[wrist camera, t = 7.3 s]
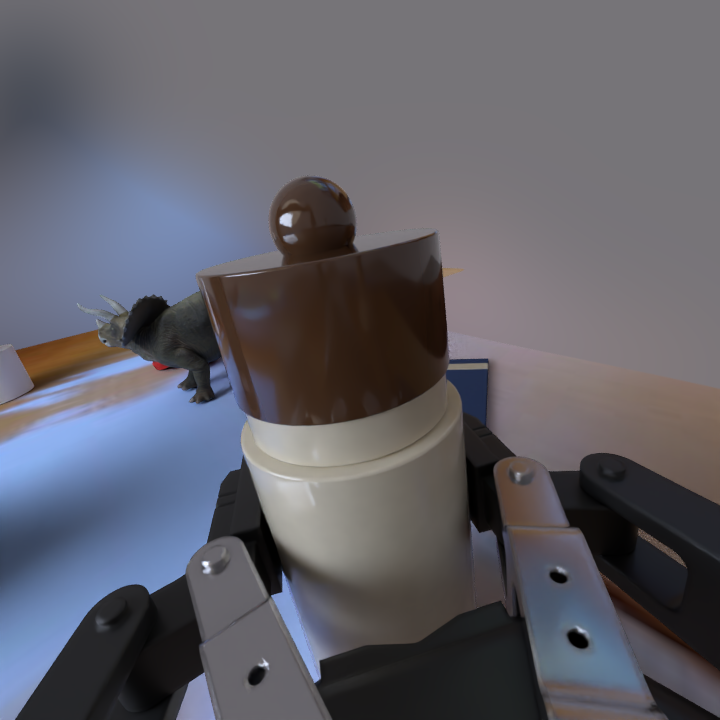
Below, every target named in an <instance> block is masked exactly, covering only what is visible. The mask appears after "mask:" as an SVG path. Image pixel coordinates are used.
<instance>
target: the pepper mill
mask: <svg viewBox="0 0 720 720" xmlns="http://www.w3.org/2000/svg"><path fill="white" fill-rule="evenodd" d="M269 230H270V234H271V237H272V239H273V242H274V243H275V245H276V247H277V249H278V250H279V251H274V252H269V253H265V254H260V255H255V256H251V257H247V258H243V259H238V260H235V261H230V262H227V263H223V264H220V265H216V266H213V267H210V268H207V269H204V270H202V271H200V272H198V273H197V274H196V280H197V283H198V286H199V289H200V292H201V295H202V298H203V301H204V304H205V307H206V311H207V314H208V317H209V320H210V323H211V326H212V329H213V332H214V335H215V338H216V341H217V344H218V347H219V351H220V354H221V357H222V360H223V363H224V366H225V369H226V372H227V375H228V378H229V381H230V384H231V387H232V390H233V394H234V397H235V400H236V403H237V404H238V406H239V408H240V409H241V410H242V411H243V412H244V413H245V415H246V418H247V421H246V422H245V424H244V426H243V430H242V433H241V442H240V443H241V448H242V452H243V455H244V458H245V461H246V464H247V467H248V470H249V473H250V476H251V479H252V482H253V485H254V487H255V490H256V493H257V496H258V499H259V502H260V505H261V508H262V511H263V514H264V517H265V520H266V523H267V526H268V529H269V532H270V535H271V538H272V541H273V544H274V547H275V550H276V553H277V556H278V559H279V562H280V565H281V568H282V571H283V573H284V576H285V579H286V582H287V585H288V588H289V591H290V594H291V597H292V600H293V603H294V606H295V609H296V612H297V615H298V618H299V621H300V624H301V627H302V630H303V633H304V636H305V639H306V642H307V645H308V648H309V651H310V654H311V657H312V660H313V662H314V665H315V668H316V671H317V674H318V677H319V680H320V679H321V675H320V663H319V660H322V659H325V658H328V657H331V656H334V655H337V654H340V653H343V652H346V651H349V650H352V649H356V648H359V647H362V646H365V645H381V644H408V643H416V642H419V641H421V640H423V639H424V638H425V637H427V636H428V635H430V634H431V633H433V632H434V631H435V630H437V629H438V628H440V627H441V626H443V625H444V624H446V623H447V622H448V621H450V620H451V619H453V618H454V617H456V616H457V615H459V614H462V613H465V612H468V611H471V610H474V609H477V600H476V587H475V573H474V559H473V546H472V532H471V518H470V504H469V491H468V477H467V463H466V450H465V436H464V422H463V408H462V401H461V397H460V394H459V393H458V391H457V389H456V387H455V386H454V385H453V384H452V383H451V382H450V381H449V380H447V377H446V371H447V369H448V366H449V360H450V358H449V346H448V334H447V322H446V310H445V298H444V286H443V274H442V262H441V251H440V238H439V231H438V230H437V229H431V228H425V229H424V228H423V229H410V230H400V231H392V232H383V233H376V234H369V235H362V236H356V230H357V219H356V213H355V209H354V206H353V204H352V202H351V200H350V198H349V197H348V195H347V194H346V192H345V191H344V190H343V189H342V188H341V187H339V185H337V184H336V183H334V182H333V181H331V180H329V179H327V178H324V177H320V176H315V175H307V176H301V177H298V178H295V179H293V180H291V181H289V182H288V183H286V184H285V185H284V186H283V187H282V188H281V189H280V190H279V191H278V192H277V194H276V195H275V197H274V199H273V201H272V204H271V206H270V211H269ZM355 236H356V237H355Z"/></svg>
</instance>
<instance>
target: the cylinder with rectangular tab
mask: <svg viewBox="0 0 720 720" xmlns="http://www.w3.org/2000/svg"><path fill="white" fill-rule="evenodd" d="M33 387H34V384H33V382H32V381H31V379H30V377H29V375H28V373H27V372H26V370H25V368H24V366H23V364H22V362H21V361H20V359H19V357H18V355H17V353H16V351H15V350H14V348H13V346H12V345H10V344H7V345H0V404H3V403H6V402H8V401H10V400H13V399H15V398H17V397H19V396H21V395H23V394H25V393H27V392H28V391H30V390H31V389H32V388H33Z"/></svg>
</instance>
